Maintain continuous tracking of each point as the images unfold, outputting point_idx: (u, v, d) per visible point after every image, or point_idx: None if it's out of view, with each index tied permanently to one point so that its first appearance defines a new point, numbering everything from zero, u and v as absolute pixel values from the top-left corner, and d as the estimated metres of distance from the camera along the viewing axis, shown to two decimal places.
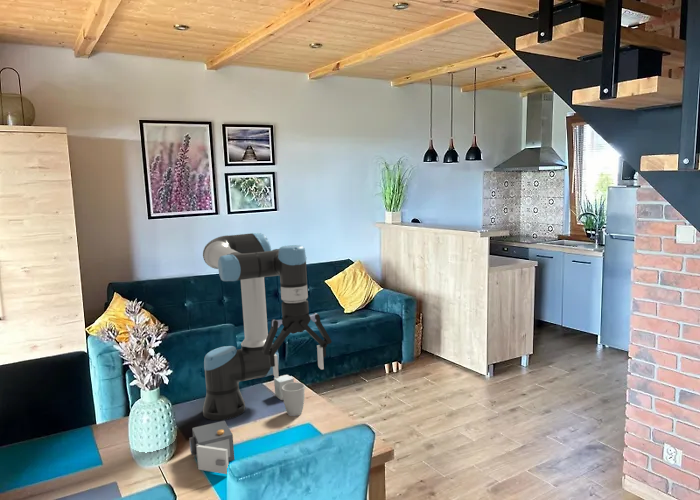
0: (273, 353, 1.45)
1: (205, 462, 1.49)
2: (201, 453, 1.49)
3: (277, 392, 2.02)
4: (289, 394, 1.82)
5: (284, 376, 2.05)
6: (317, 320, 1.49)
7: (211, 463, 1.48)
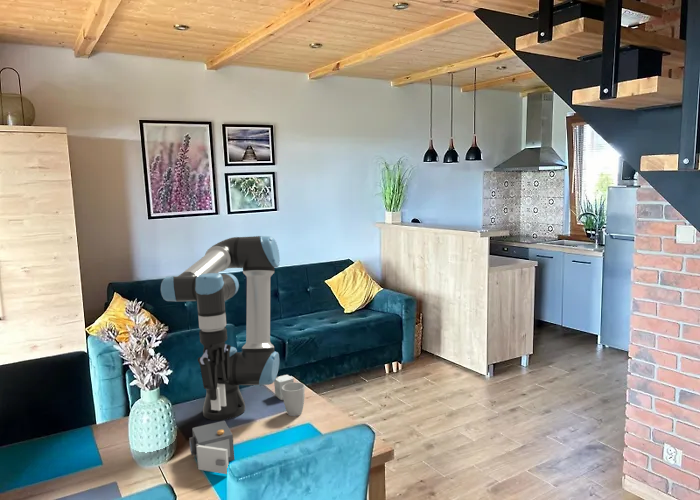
0: None
1: (205, 462, 1.49)
2: (201, 453, 1.49)
3: (277, 392, 2.02)
4: (289, 394, 1.82)
5: (284, 376, 2.05)
6: None
7: (211, 463, 1.48)
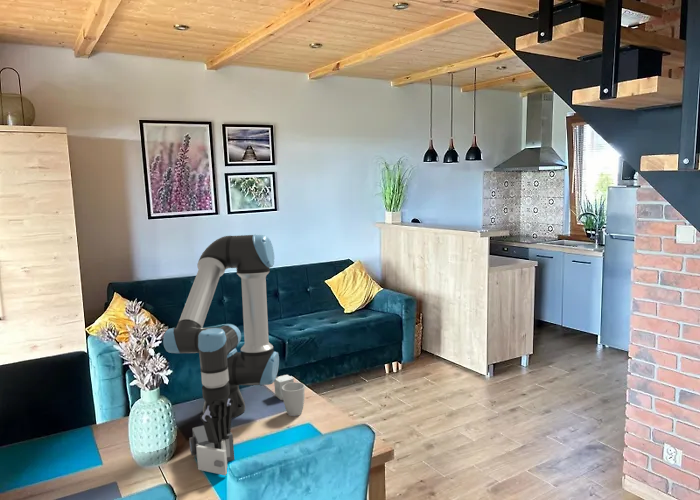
0: None
1: (204, 462, 1.49)
2: (201, 453, 1.49)
3: (277, 392, 2.02)
4: (288, 394, 1.82)
5: (284, 376, 2.05)
6: None
7: (210, 464, 1.48)
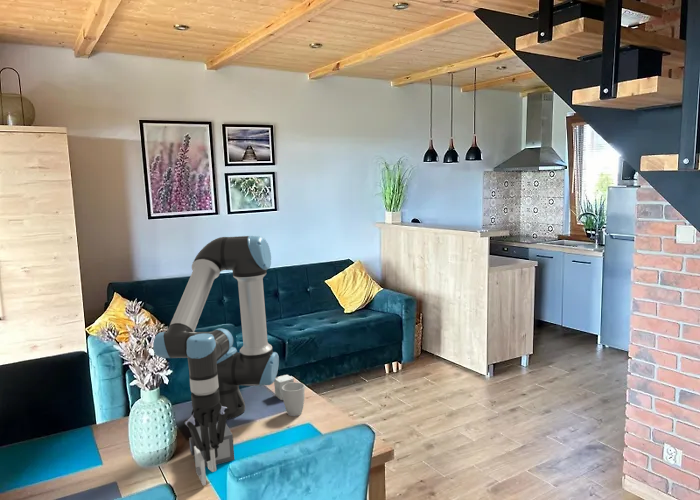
0: None
1: (196, 465, 1.48)
2: (195, 454, 1.48)
3: (277, 392, 2.02)
4: (288, 394, 1.82)
5: (284, 376, 2.05)
6: None
7: None
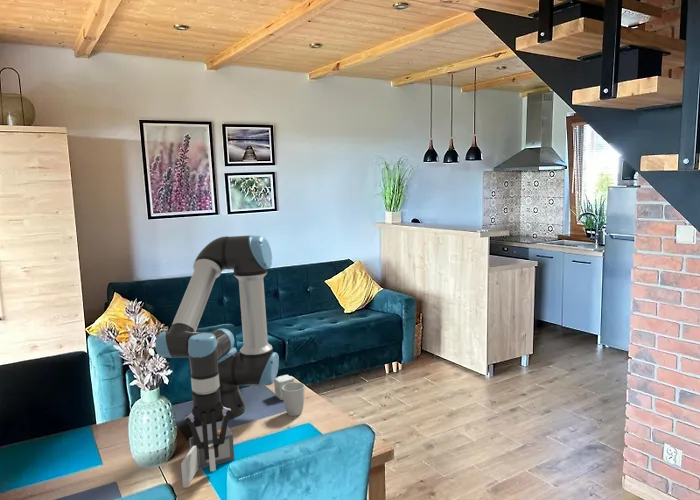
0: None
1: None
2: None
3: (277, 392, 2.02)
4: (288, 394, 1.82)
5: (284, 376, 2.05)
6: None
7: None
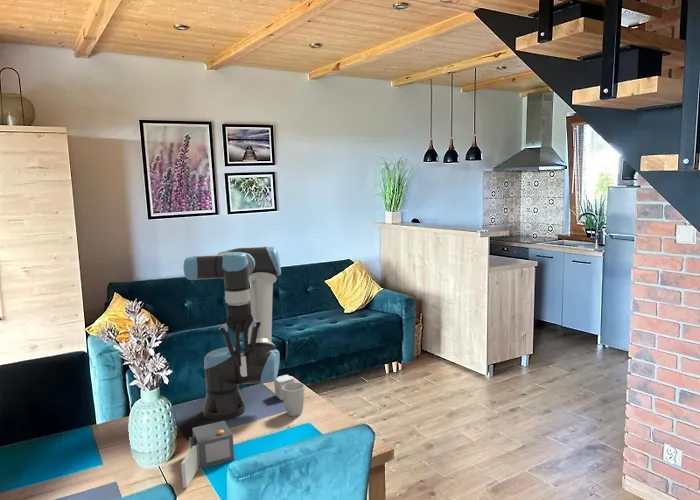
0: None
1: None
2: None
3: (277, 392, 2.02)
4: (289, 394, 1.82)
5: (284, 376, 2.05)
6: None
7: None
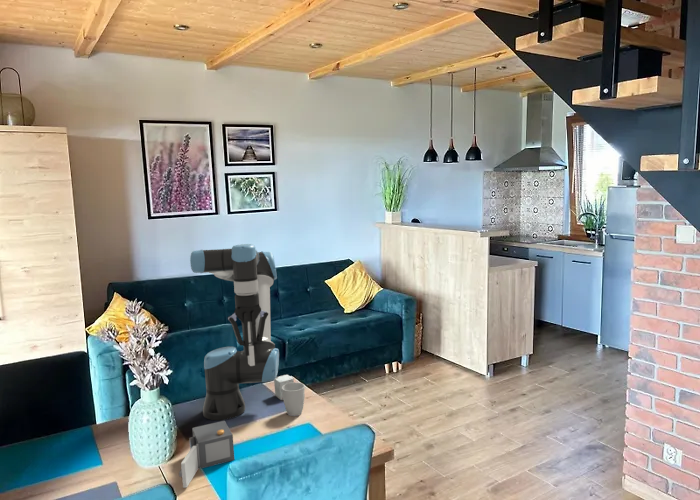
0: None
1: None
2: None
3: (277, 392, 2.02)
4: (289, 394, 1.82)
5: (284, 376, 2.05)
6: None
7: None
